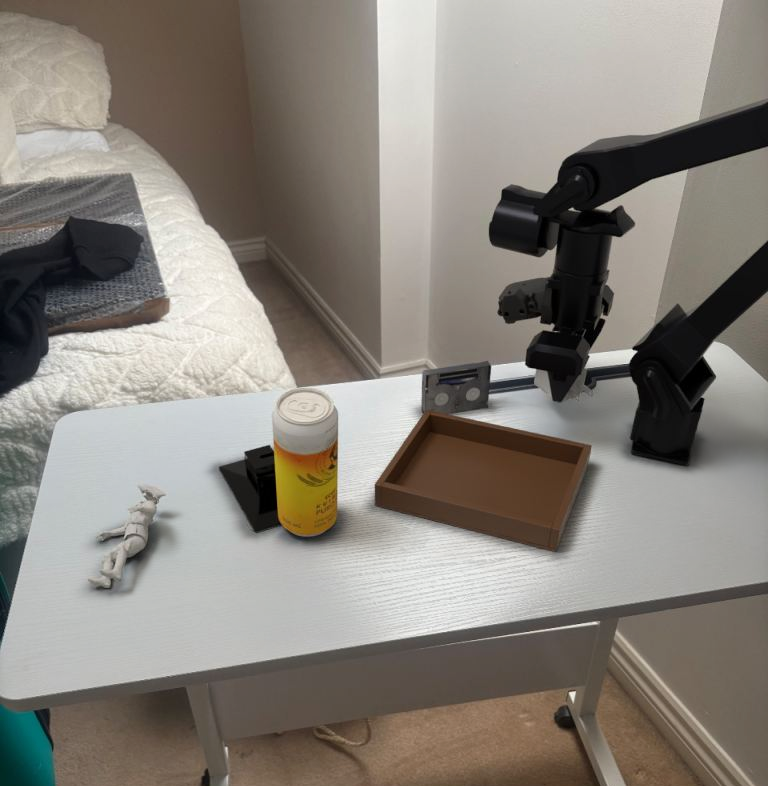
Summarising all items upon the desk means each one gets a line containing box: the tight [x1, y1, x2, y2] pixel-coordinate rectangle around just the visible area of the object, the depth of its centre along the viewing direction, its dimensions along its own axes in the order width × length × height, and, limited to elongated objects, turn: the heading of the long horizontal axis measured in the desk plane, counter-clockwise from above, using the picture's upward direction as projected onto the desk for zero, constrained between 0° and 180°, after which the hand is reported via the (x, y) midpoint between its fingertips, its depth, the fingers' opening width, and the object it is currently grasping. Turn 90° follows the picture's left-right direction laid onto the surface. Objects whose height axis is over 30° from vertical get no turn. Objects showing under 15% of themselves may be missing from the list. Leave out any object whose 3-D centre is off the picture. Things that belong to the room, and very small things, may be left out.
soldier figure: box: [87, 484, 167, 589], centre depth 82 cm, size 8×5×12 cm
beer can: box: [271, 387, 339, 538], centre depth 81 cm, size 6×6×15 cm
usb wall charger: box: [533, 367, 594, 404], centre depth 99 cm, size 4×7×4 cm, turn 30°
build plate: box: [218, 444, 283, 534], centre depth 89 cm, size 12×7×5 cm, turn 26°
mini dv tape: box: [420, 360, 492, 415], centre depth 101 cm, size 8×2×6 cm, turn 106°
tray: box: [374, 410, 593, 553], centre depth 90 cm, size 20×16×3 cm
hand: (562, 389), depth 101 cm, fingers closed on usb wall charger, 5 cm apart
